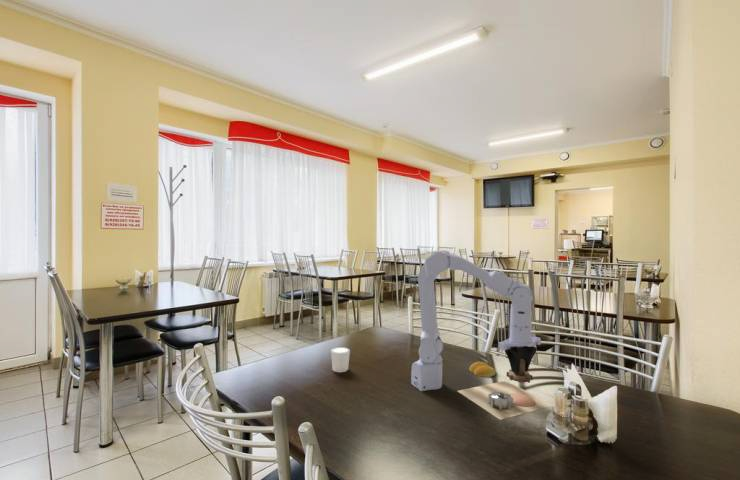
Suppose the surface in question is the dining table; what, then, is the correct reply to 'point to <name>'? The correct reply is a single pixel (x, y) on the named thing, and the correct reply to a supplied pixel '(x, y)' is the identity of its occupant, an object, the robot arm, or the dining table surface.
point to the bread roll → (482, 369)
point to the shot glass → (340, 359)
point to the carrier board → (482, 392)
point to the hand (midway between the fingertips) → (519, 371)
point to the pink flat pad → (522, 400)
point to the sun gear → (500, 400)
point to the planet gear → (520, 374)
